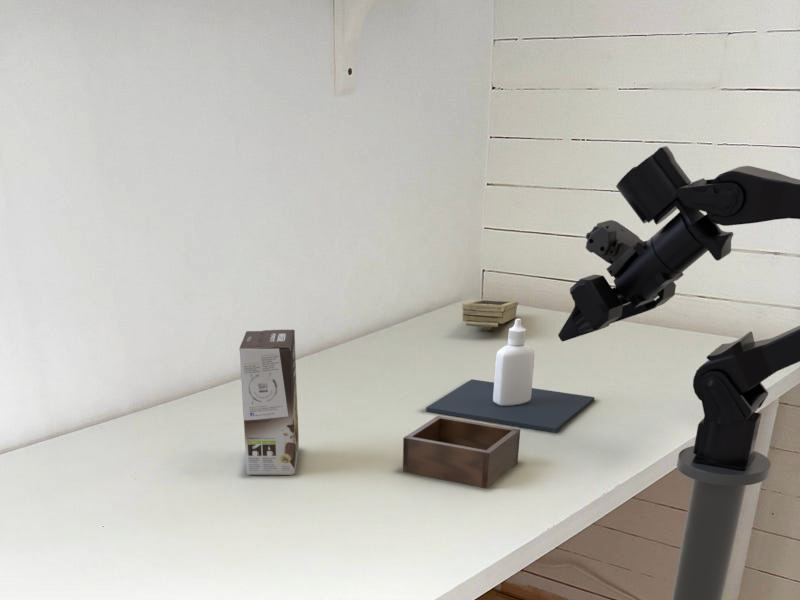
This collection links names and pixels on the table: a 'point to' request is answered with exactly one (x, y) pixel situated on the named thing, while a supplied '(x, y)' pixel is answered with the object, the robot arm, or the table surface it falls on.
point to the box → (488, 312)
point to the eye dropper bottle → (514, 369)
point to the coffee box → (270, 401)
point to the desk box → (461, 451)
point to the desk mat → (538, 413)
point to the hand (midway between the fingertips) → (578, 331)
